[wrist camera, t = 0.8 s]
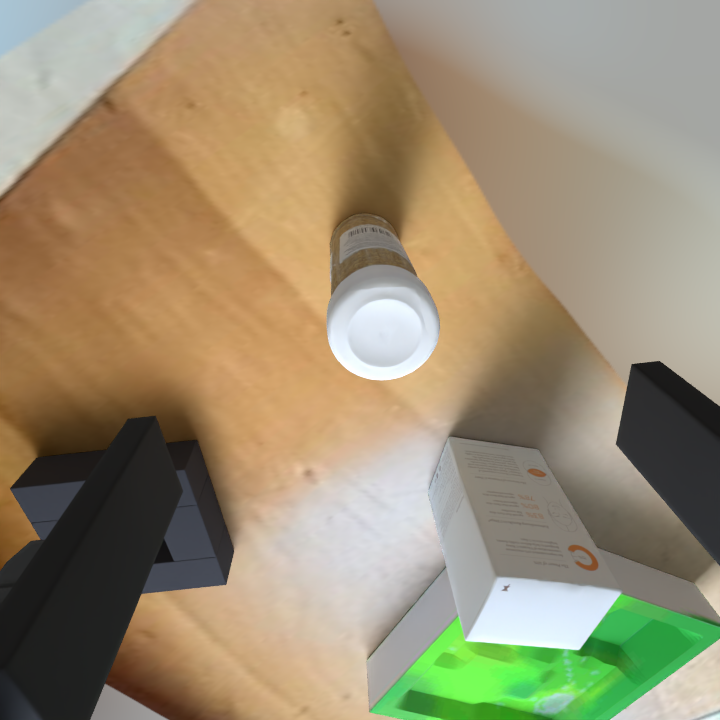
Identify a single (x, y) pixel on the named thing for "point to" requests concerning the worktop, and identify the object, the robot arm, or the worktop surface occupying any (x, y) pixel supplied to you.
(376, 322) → the sprinkles bottle
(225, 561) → the dark grey square frame
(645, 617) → the green board game box
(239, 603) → the worktop surface
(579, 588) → the small box
